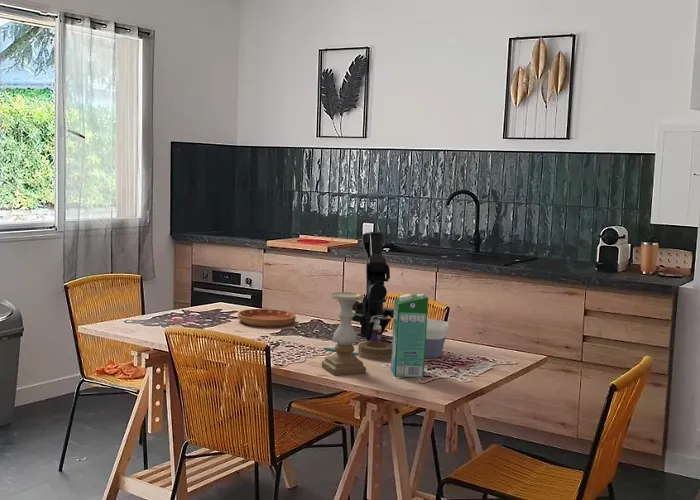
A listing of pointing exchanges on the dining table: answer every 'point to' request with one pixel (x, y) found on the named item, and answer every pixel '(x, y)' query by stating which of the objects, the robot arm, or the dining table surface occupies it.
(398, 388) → the dining table surface
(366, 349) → the brown faceted ring
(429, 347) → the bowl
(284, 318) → the saucer
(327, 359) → the candle holder
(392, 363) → the milk carton
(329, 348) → the teal stick
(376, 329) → the pill bottle
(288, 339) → the dining table surface
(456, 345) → the dining table surface
